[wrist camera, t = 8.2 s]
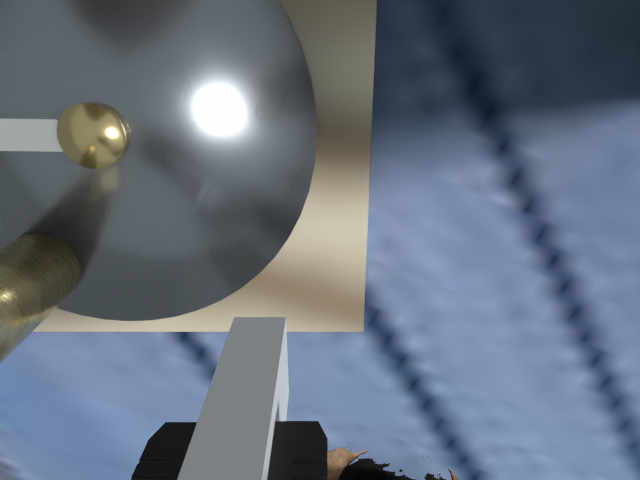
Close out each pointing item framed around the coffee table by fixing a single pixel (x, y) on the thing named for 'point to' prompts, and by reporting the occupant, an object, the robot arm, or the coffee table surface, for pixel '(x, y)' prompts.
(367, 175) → the base plate
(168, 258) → the turntable
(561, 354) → the coffee table surface
